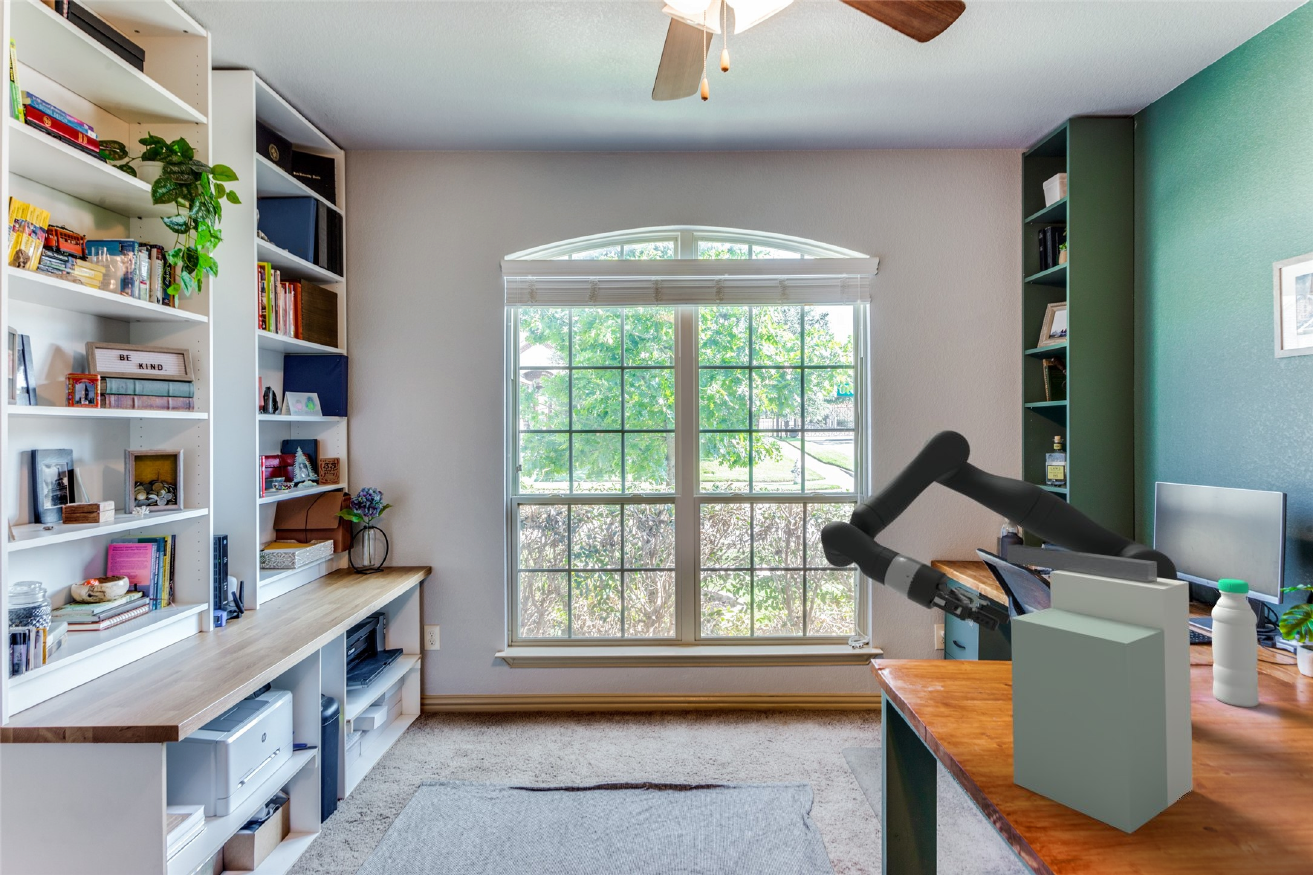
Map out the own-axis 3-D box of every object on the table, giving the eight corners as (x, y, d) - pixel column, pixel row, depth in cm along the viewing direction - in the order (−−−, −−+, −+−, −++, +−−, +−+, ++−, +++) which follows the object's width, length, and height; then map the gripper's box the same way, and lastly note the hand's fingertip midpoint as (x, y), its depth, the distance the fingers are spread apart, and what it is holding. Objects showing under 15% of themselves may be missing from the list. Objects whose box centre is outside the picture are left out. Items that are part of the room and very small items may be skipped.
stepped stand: (1013, 782, 102) (1010, 580, 103) (1080, 749, 113) (1076, 566, 114) (1130, 833, 89) (1125, 599, 89) (1192, 789, 100) (1188, 581, 100)
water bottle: (1204, 695, 137) (1201, 577, 137) (1234, 694, 137) (1232, 576, 138) (1236, 708, 130) (1234, 584, 130) (1268, 707, 130) (1266, 583, 131)
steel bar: (1007, 562, 118) (1007, 545, 118) (1016, 560, 120) (1016, 544, 120) (1148, 583, 99) (1148, 563, 100) (1157, 580, 101) (1156, 561, 101)
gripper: (909, 564, 118) (1002, 608, 108) (933, 560, 129) (1019, 599, 119) (895, 601, 119) (985, 648, 109) (920, 594, 130) (1004, 636, 120)
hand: (1003, 622), depth 114 cm, fingers open, 8 cm apart
